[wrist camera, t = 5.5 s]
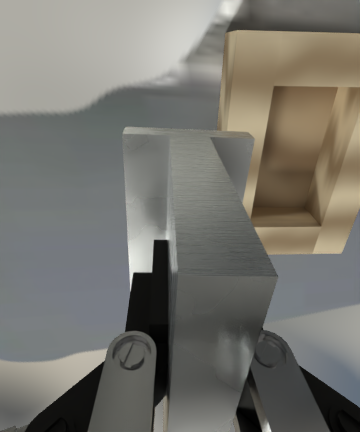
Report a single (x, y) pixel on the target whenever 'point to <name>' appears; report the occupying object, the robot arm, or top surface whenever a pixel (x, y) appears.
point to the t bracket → (199, 264)
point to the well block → (296, 134)
